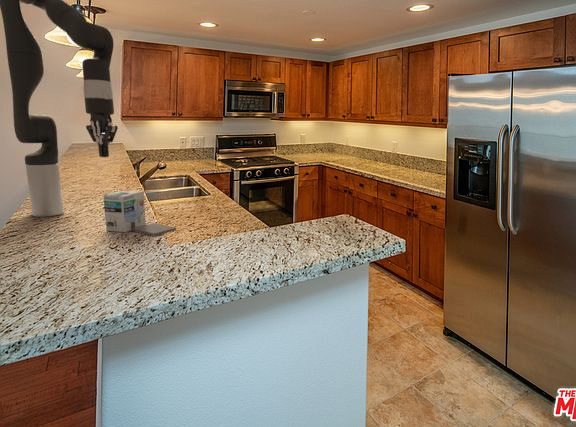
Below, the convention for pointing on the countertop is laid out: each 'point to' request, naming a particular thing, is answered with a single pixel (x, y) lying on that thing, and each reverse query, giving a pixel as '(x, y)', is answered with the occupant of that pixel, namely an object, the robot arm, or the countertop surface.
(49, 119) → the robot arm
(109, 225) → the light bulb box
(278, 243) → the countertop surface
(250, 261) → the countertop surface
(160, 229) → the plate
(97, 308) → the countertop surface
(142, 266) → the countertop surface
